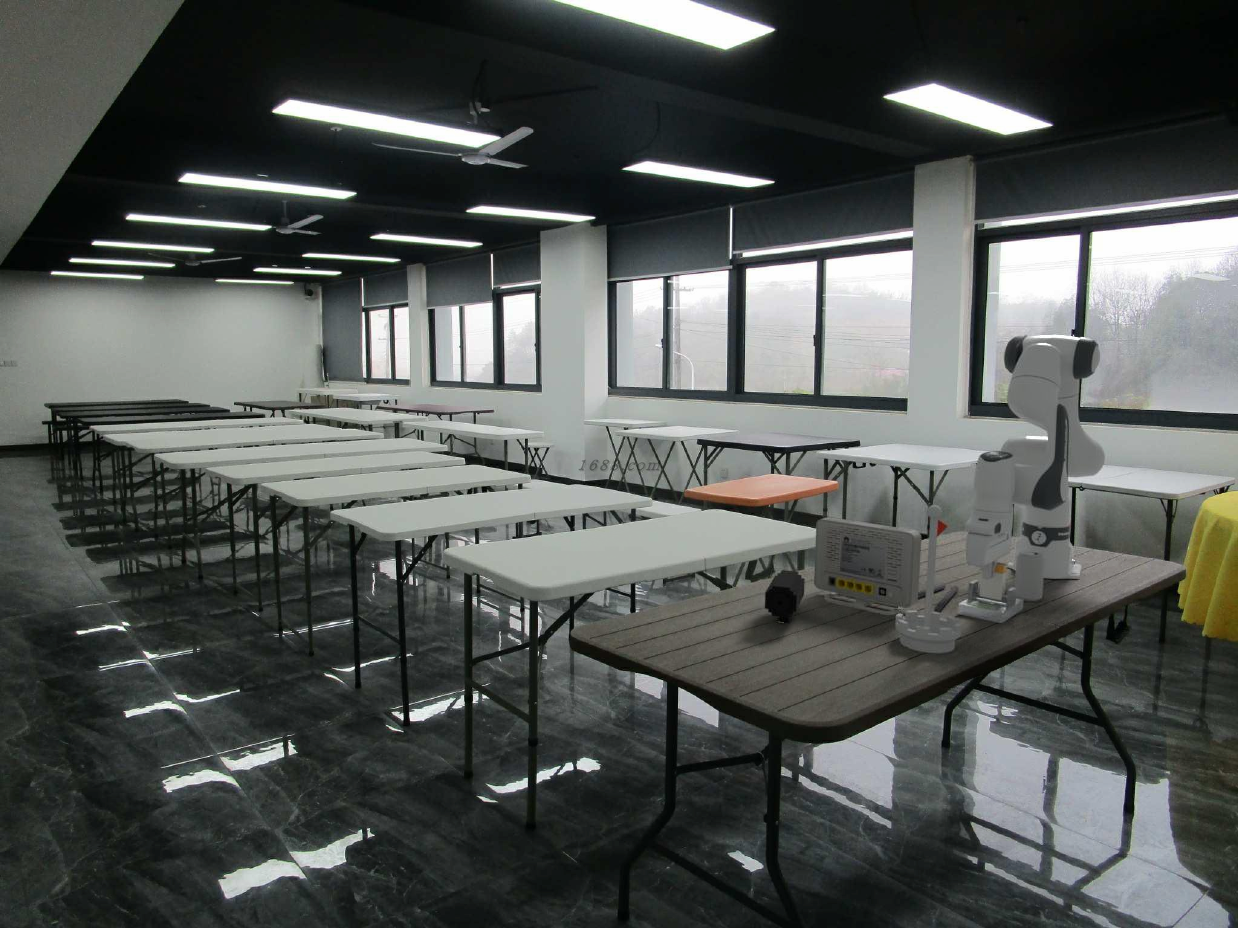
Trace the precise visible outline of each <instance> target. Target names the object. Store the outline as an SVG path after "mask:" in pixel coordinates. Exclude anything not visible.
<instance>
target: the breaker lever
mask: <svg viewBox="0 0 1238 928" xmlns="http://www.w3.org/2000/svg"><path fill="white" fill-rule="evenodd" d="M1007 564H1008V563H1003V562H998V561H997V564H996V568H995V571H994V577H993V578H991V579H989V580H986V579H983V578H982V568H981V567H980V580H979V582H980V584H979V590H978V591H976V593H975V597H977V598H982V599H987V600H992V601H997V602H1002V603H1006V600H1007V595H1005V592H1006V577H1007V571H1008V567H1007Z"/></svg>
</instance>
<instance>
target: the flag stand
mask: <svg viewBox="0 0 1238 928" xmlns="http://www.w3.org/2000/svg"><path fill="white" fill-rule="evenodd" d="M926 514H927V516H928V517H929V533H928V534H929V535H928V536H929V538H928V549H927V551H928V552H927V553H928V554H927V569H926V584H925V585H926V587H925V589H926V595H925V603H924V604H925V606H924V615H919V612H918V611H917V610H915V609H913V610H905V615H904V613H901V612H900V613H898V614H895V626H894V628H895V630H897V631H898V633H899V643H900V642H901V643H900V644H901V645H902V646H903V647H905V646H906V647H905V648H907V647H908V648H907V649H909V650H913V651H917V652H922V653H928V654H929V653H930V654H944V653H950V652H952V651H954V650H955V647H956V640H957V639H958V638H960V637H961V636H962V623H961V622H959V619H958V618H956V617H955V616H953V615H948V616H947V618H941V612H935V611H934V593H935V592H934V586H935V576H936V575H935V574H936V558H937V557H936V556H937V554H936V553H937V543H938V542H937V540H938V537H939V536H940V535H941V534H942V533H943V532H944V531H946V529H947V528H948V527H949V525H947V524H945V523H944V522H943V521H941V520H939V518H941V516H942V514H943V511H942V508H941V507H940V506H939V505H936V504H932V505H930V506H928V508H927V510H926Z"/></svg>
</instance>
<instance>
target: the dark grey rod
mask: <svg viewBox="0 0 1238 928" xmlns="http://www.w3.org/2000/svg"><path fill="white" fill-rule="evenodd" d="M958 590H959V587H958V586H957V585H954V586H952V587H951V588H950V590H949V591H948V592H947V593H946V594H945V595H944V596H943V598H941V600H939V602H938V603H937V605H935V607H933V612H938V613H941V612H940V611H941V610H943V609H944V607H945V606H946V604H947V603H949V601H950V600H951V599H952V598H953V596H954V595H955V594H956V593H957V592H958Z"/></svg>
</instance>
